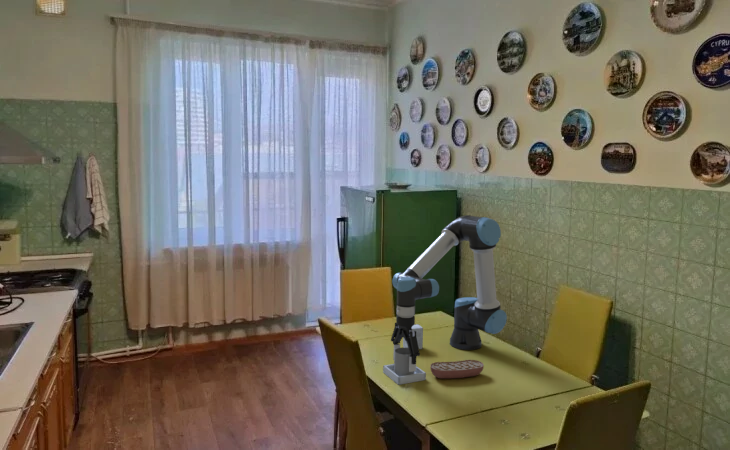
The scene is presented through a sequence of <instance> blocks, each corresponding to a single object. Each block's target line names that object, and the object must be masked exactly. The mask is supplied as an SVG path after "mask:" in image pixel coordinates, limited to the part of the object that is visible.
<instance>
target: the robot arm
mask: <svg viewBox="0 0 730 450" xmlns="http://www.w3.org/2000/svg"><path fill="white" fill-rule="evenodd" d="M501 235H502V231H501V227H500V225H499V223H498V222H497V221H496V220H495V219H492V218H489V217H486V216H485V217H483V216H475V215H462V216H458V217H457V218H456V219H454V220H452V221H451V222H450V223H448V224H447V225H446V226H445V227H444V228H443V229H442V230H441V234H440V235H439V236H438V237H437V238H436V239H435V240H434V241H433V242H432V243H431V244H430V245H429V247H428V248H426V249H425V250H424V252H422V253H421V254H420V255H419V256H418V257H417V258H416V260H414V261H413V263H412V264H410V266H408V267H407V269H406V270H405V271H404V272H397V273H395V274H394V275H393V276H392V277H393V278H392V279H391V280H392V282H391V283H392V286H393V287H394V289H396V309H395V310H396V317H395V318H396V320H395V321H396V322H394V329H393V331H392V335H391V337H390V341H391V342H392V343H393V344H392V345H393V352H394V351H395V349H397V348H401V340H403V338H404V339H405V341H406V342H407V345H408V348H409V351H410V354H411V355H410V357H409V372H412V371H416V366H417V358H418V357H419V356H421V353H420V349H419V347H418V342H417V337H416V331H412V326H413V325H416V324H415V323H416V316H415V315H416V300H417V301H418V300H421V299H428V298H429V299H430V298H433V297H437V295H438V294H439V291H440V284H439V282H438V281H437V280H436V279H434V278H427V279H424V277H425V276H426V275H427V274H428V273H429V272H430V271H431V270H432V269H433V268H434V266H436V264H437V263H439V261H440V260H441V259H443V257H444V256H445V255H446V254H447V253H448V252H449V251H450V250H451V249H452V248H453V247H454V246H458V245H459V244H460V243H462V242H464V241H467V242H468V245H469V249H470V250H471V251H472V252H473V263H474V265H473V266H474V273H475V275H474V276H475V287H476V288H475V289H476V297H474V296H473V297H472V296H471V297H469V296H468V297H467V296H466V297H459V298H456V299H455V301H454V307H453V308H454V313H453V314H454V316H453V321H454V322H453V330H452V333H451V336H450V337H449V346H451V347H453V348H455V349H458V350H463V351H464V350H465V351H474V350H478V349H480V348H481V347H482V339H481V335H480V330H481V331H482V332H486V333H488V334H493V335H495V334H498V333H500V332H501V331H502V330H503V329H504V328H505V326H506V323H507V318H508V315H507V313H506V311H504V310H503V309H502V308H501V302H500V301H499V300H498V299H497V288H496V275H495V262H494V249H495V248H496V247H497V244H498V243H499V241H500V238H501ZM409 337H410V338H409ZM392 357H393V361H394V356H392Z"/></svg>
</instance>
